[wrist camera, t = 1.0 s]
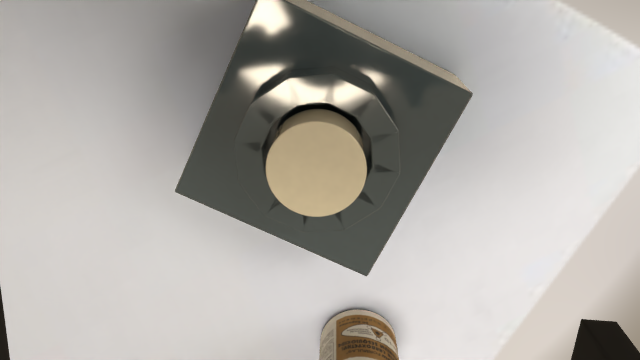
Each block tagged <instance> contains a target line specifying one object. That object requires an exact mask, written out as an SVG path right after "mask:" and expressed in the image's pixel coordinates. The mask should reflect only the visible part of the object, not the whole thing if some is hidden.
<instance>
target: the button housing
mask: <svg viewBox="0 0 640 360" xmlns="http://www.w3.org/2000/svg"><path fill="white" fill-rule="evenodd" d="M472 95H473V94H472V92H471V91H470V90H469V89H468V88H467V87H466V86H465V85H464V84H463V83H462V82H461V81H460V79H459V78H458V77H457V76H456V75H455V74H453V73H451V72H449V71H447V70H445V69H443V68H441V67H439V66H437V65H435V64H433V63H431V62H429V61H427V60H425V59H423V58H421V57H419V56H417V55H415V54H413V53H411V52H409V51H407V50H405V49H403V48H401V47H399V46H397V45H395V44H393V43H391V42H389V41H387V40H385V39H383V38H381V37H379V36H377V35H375V34H373V33H371V32H369V31H367V30H365V29H363V28H361V27H359V26H357V25H355V24H353V23H351V22H349V21H347V20H345V19H343V18H341V17H339V16H337V15H335V14H333V13H331V12H329V11H327V10H325V9H323V8H321V7H319V6H317V5H315V4H313V3H311V2H309V1H307V0H256V1H255V4H254V6H253V9H252V11H251V13H250V16H249V18H248V20H247V23H246V25H245V27H244V30H243V32H242V34H241V37H240V39H239V41H238V44H237V46H236V48H235V51H234V53H233V55H232V58H231V60H230V62H229V65H228V67H227V70H226V72H225V74H224V77H223V79H222V81H221V84H220V86H219V88H218V91H217V93H216V95H215V98H214V100H213V102H212V105H211V107H210V109H209V112H208V114H207V116H206V119H205V121H204V123H203V126H202V128H201V131H200V133H199V135H198V138H197V140H196V142H195V145H194V147H193V149H192V152H191V154H190V156H189V159H188V161H187V163H186V166H185V168H184V170H183V173H182V175H181V177H180V180H179V182H178V184H177V187H176V189H175V192H177V193H179V194H181V195H183V196H186V197H188V198H190V199H193V200H195V201H197V202H199V203H202V204H204V205H206V206H208V207H211V208H213V209H215V210H217V211H220V212H222V213H224V214H227V215H229V216H231V217H233V218H236V219H238V220H240V221H242V222H245V223H247V224H249V225H251V226H254V227H256V228H258V229H261V230H263V231H265V232H267V233H270V234H272V235H274V236H276V237H279V238H281V239H283V240H285V241H288V242H290V243H292V244H295V245H297V246H299V247H301V248H304V249H306V250H308V251H310V252H313V253H315V254H317V255H319V256H322V257H324V258H326V259H329V260H331V261H333V262H335V263H338V264H340V265H342V266H344V267H347V268H349V269H351V270H353V271H356V272H358V273H360V274H363V275H365V276H367V275H368V274H369V272H370V270H371V269H372V267H373V265H374V264H375V262H376V260H377V258H378V257H379V255H380V253H381V252H382V250H383V248H384V246H385V245H386V243H387V241H388V240H389V238H390V236H391V234H392V233H393V231H394V229H395V228H396V226H397V224H398V222H399V221H400V219H401V217H402V215H403V214H404V212H405V210H406V209H407V207H408V205H409V203H410V202H411V200H412V198H413V197H414V195H415V193H416V191H417V190H418V188H419V186H420V185H421V183H422V181H423V179H424V178H425V176H426V174H427V173H428V171H429V169H430V167H431V166H432V164H433V162H434V161H435V159H436V157H437V155H438V154H439V152H440V150H441V148H442V147H443V145H444V143H445V142H446V140H447V138H448V136H449V135H450V133H451V131H452V130H453V128H454V126H455V124H456V123H457V121H458V119H459V118H460V116H461V114H462V112H463V111H464V109H465V107H466V106H467V104H468V102H469V100H470V99H471V97H472ZM310 109H325V110H330V111H333V112H336V113H338V114H340V115H342V116H344V117H345V118H346V119H348V120H349V121H350V122H351V123H352V124H353V125H354V126H355V127H356V129H357V130H358V132H359V133H360V135H361V138H362V140H363V144H364V149H365V156H366V164H367V176H366V181H365V184H364V187H363V189H362V191H361V193H360V194H359V196H358V197H357V198H356V200H355V201H354V202H353V203H352V204H351V205H349V206H348V207H347V208H345V209H344V210H342V211H340V212H338V213H335V214H332V215H328V216H322V217H312V216H305V215H301V214H299V213H296V212H294V211H292V210H290V209H288V208H287V207H285V206H284V205H283V204H282V203H281V202H280V201H279V200H278V199H277V198H276V197H275V196H274V194H273V193H272V191H271V189H270V187H269V184H268V181H267V177H266V159H267V155H268V152H269V149H270V146H271V143H272V140H273V138H274V135H275V133H276V132H277V130H278V128H279V127H280V126H281V125H282V124H283V123H284V122H285V121H286V120H287V119H288V118H290V117H291V116H293V115H295V114H296V113H299V112H301V111H305V110H310Z"/></svg>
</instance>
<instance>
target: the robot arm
mask: <svg viewBox="0 0 640 360" xmlns="http://www.w3.org/2000/svg"><path fill="white" fill-rule="evenodd" d="M0 360H10V357H9V349H8V341H7V334H6V326H5V318H4V311H3V303H2V295H1V287H0ZM571 360H640V353H639V351H638V350H637V349H636V347H635V346H634V345H633V343H632V342H631V341H630V339H629V338H628V337H627V335H626V334H625V333H624V331H623V330H622V329H621V327H620V326H619V325H618V323H617V322H612V321H599V320H598V321H597V320H585V319H582V320H581V323H580V327H579V330H578V334H577V338H576V342H575V347H574V350H573V354H572V358H571Z"/></svg>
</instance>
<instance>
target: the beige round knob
mask: <svg viewBox="0 0 640 360" xmlns="http://www.w3.org/2000/svg"><path fill="white" fill-rule="evenodd" d="M366 176H367V164H366V156H365V149H364V144H363V140H362V138H361V135H360V133H359V132H358V130H357V129H356V127H355V126H354V125H353V124H352V123H351V122H350V121H349V120H348V119H346V118H345V117H344V116H342V115H340V114H338V113H336V112H333V111H330V110H325V109H310V110H305V111H301V112H299V113H296V114H295V115H293V116H291V117H290V118H288V119H287V120H286V121H285V122H284V123H283V124H282V125H281V126H280V127H279V128H278V130H277V132H276V133H275V135H274V138H273V140H272V143H271V146H270V149H269V152H268V155H267V159H266V177H267V181H268V184H269V187H270V189H271V191H272V193H273V194H274V196H275V197H276V198H277V199H278V200H279V201H280V202H281V203H282V204H283V205H284V206H285V207H287V208H288V209H290V210H292V211H294V212H296V213H299V214H301V215H305V216H312V217H322V216H328V215H332V214H335V213H338V212H340V211H342V210H344V209H345V208H347V207H348V206H349V205H351V204H352V203H353V202H354V201H355V200H356V198H357V197H358V196H359V194H360V193H361V191H362V189H363V187H364V184H365V181H366Z"/></svg>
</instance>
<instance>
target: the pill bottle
mask: <svg viewBox="0 0 640 360" xmlns="http://www.w3.org/2000/svg"><path fill="white" fill-rule="evenodd" d="M319 360H399V358H398V349H397V344H396V337H395V334H394V331H393V329H392V327H391V325H390V324H389V323H388V322H387V321H386V320H385V319H384V318H383V317H381V316H380V315H378V314H376V313H373V312H371V311H366V310H357V309H356V310H349V311H345V312H342V313H340V314H338V315H336V316H335V317H333V318H332V319H331V320H330V321H329V322H328V323H327V324H326V326H325V327H324V329H323V331H322V334H321V340H320V356H319Z"/></svg>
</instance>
